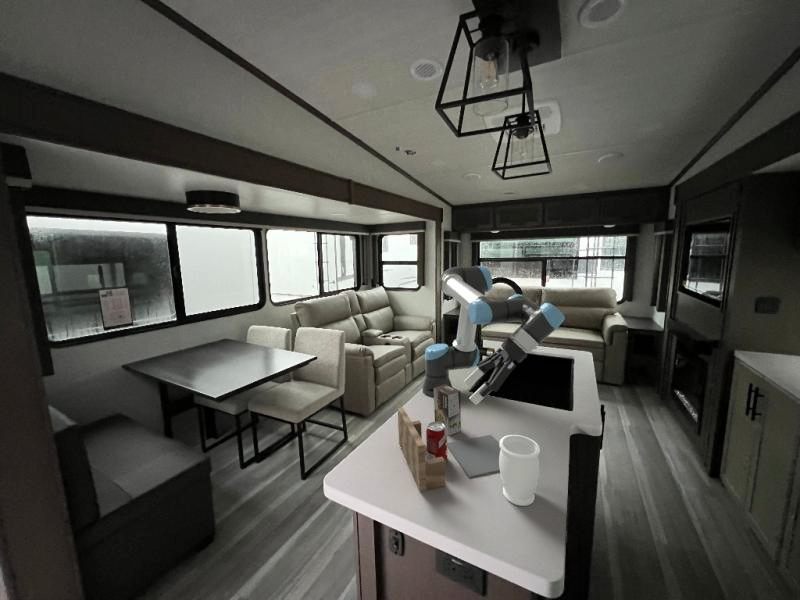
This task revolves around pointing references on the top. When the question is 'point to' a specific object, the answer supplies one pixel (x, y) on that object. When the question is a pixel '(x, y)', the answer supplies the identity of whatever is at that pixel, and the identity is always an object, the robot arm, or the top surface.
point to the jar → (519, 468)
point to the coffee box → (448, 408)
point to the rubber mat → (477, 455)
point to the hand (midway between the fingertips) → (469, 392)
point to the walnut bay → (419, 455)
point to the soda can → (436, 440)
